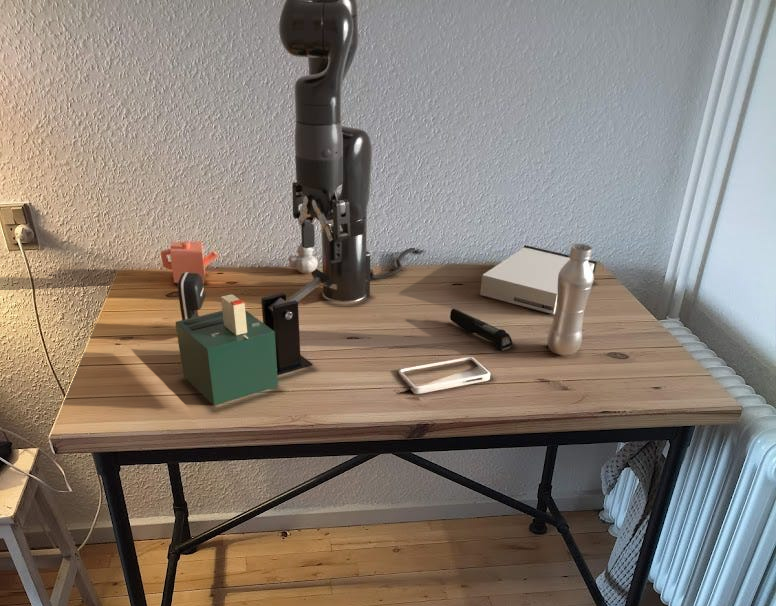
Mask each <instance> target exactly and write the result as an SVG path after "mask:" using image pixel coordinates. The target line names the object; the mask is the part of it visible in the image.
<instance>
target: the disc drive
mask: <svg viewBox="0 0 776 606" xmlns="http://www.w3.org/2000/svg"><path fill="white" fill-rule="evenodd" d="M569 260H570V258H569V254H565V253H560V252H557V251H552V250H548V249H543V248H539V247H535V246H530V245H526V244H525V245H523V248H521V249H520V250H518V251H517V252H515V253H513V254H512V255H510V256H508V257H507V258H506V259H504V260H503V261H502V262H500V263H498V264H496V265H495V266H493V267H492V268H491V269H489V270H487V271H486V272H484V273H483V274H482V275H481V284H480V285H481V286H480V294H479V295H480V296H482V297H486V298H491V299H494V300H498V301H502V302H506V303H509V304H513V305H517V306H521V307H524V308H527V309H531V310H535V311H539V312H543V313H545V314H546V313H547V314H551V315H554V314H555V311H556V304H557V293H558V274H559V272H560V270H561V269H562V267H563V266H564V265H565V264H566V263H567V262H568V261H569ZM588 262H589V264H590V266H591V268H592V271H593V274H594V275H595V273H596V267H597V264H598V263H597V262H598V261H595V260H591V259H590V260H588Z"/></svg>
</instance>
